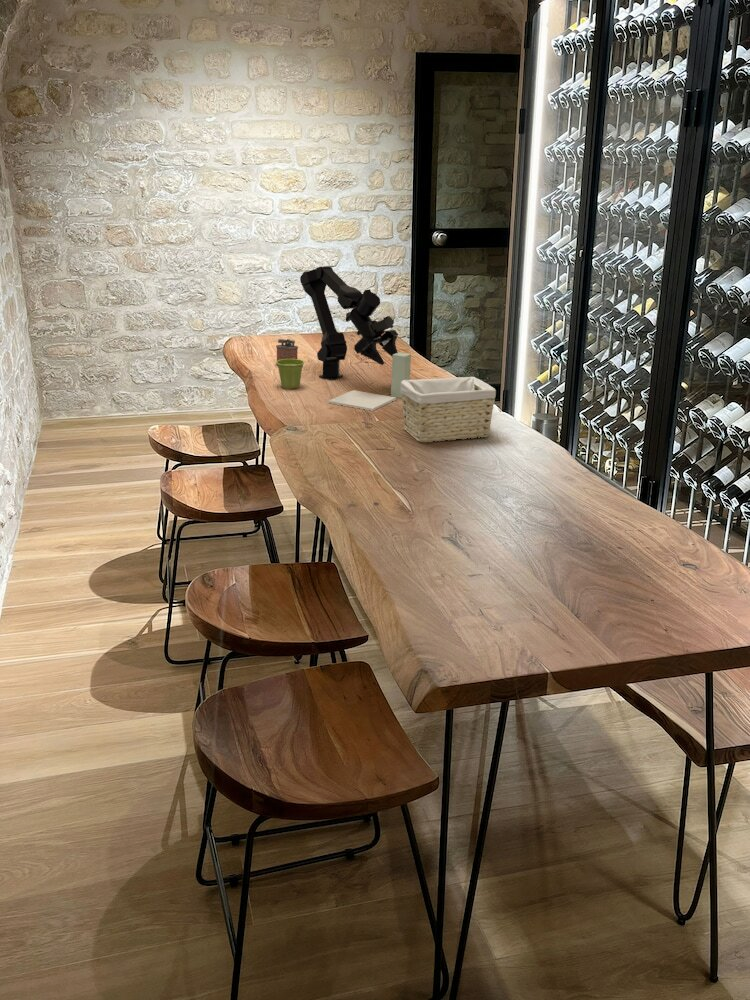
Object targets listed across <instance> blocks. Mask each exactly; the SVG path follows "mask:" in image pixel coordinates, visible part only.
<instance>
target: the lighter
mask: <svg viewBox="0 0 750 1000" xmlns="http://www.w3.org/2000/svg"><path fill="white" fill-rule="evenodd" d="M277 343H278V344H277V345H276V346H275V348H276V361H278V360H281V359H298V350H299V346H298V345H295V344H296V342H295V339H290V338H287V339H285V338H284V339H283V338H278V340H277ZM275 364H276V367H278V365H277V363H276V362H275Z"/></svg>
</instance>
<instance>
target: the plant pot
mask: <svg viewBox="0 0 750 1000" xmlns="http://www.w3.org/2000/svg"><path fill="white" fill-rule="evenodd" d="M276 363H277V365H278V366H277V368H278V372H279V381H280V385H281V388H283V389H285V388H286V390H293V389H299V388H300V386H301V385H300V384H301V378H302V371H303V368H304V364H305V361H304V360H302V359H299V358H297V359H281V360H278V361H277V360H276V362H275V364H276Z"/></svg>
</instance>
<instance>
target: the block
mask: <svg viewBox="0 0 750 1000" xmlns="http://www.w3.org/2000/svg"><path fill="white" fill-rule="evenodd" d="M397 352H398V353H396V354H393V355H392V356H391V357H392V358H391V359H392V361H391V383H390V397H391V396H392V397H398V398H397V399H401V398H403V397H402V393H401V381H403V380H411V365H412V364H411V363H412V354H411V353H405V352H400V351H397Z"/></svg>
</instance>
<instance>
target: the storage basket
mask: <svg viewBox="0 0 750 1000" xmlns="http://www.w3.org/2000/svg"><path fill="white" fill-rule="evenodd" d="M401 393H402V397H403V398H402V415H403V417H402V418H403V429H404V431H405V430H406V431H405V432H407V433H408V434H409V435H410V436H412V437H413V438H414V439H415V440H416V441H417V442H419V443H427V442H429V443H432V442H433V441H435V442H437V441H438V442H446V441H445V440H448V441H454V440H456V439H462V440H466V439H467V438H468V439H470V438H471V439H477V437H478V439H480V437H481V438H488V437H490V431H491V423H492V418H493V409H494V405H495V401H496V400H495V399H496V395H497V390H496V388H495V387H493V386H491V385H490V384H488V383H487V382H485V381H483V380H482V379H479V378H477V377H475V376H466V377H465V376H461V377H447V378H446V377H445V378H444V377H443V378H442V377H441V378H424V379H421V378H420V379H410V380H403V381H401Z"/></svg>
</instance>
